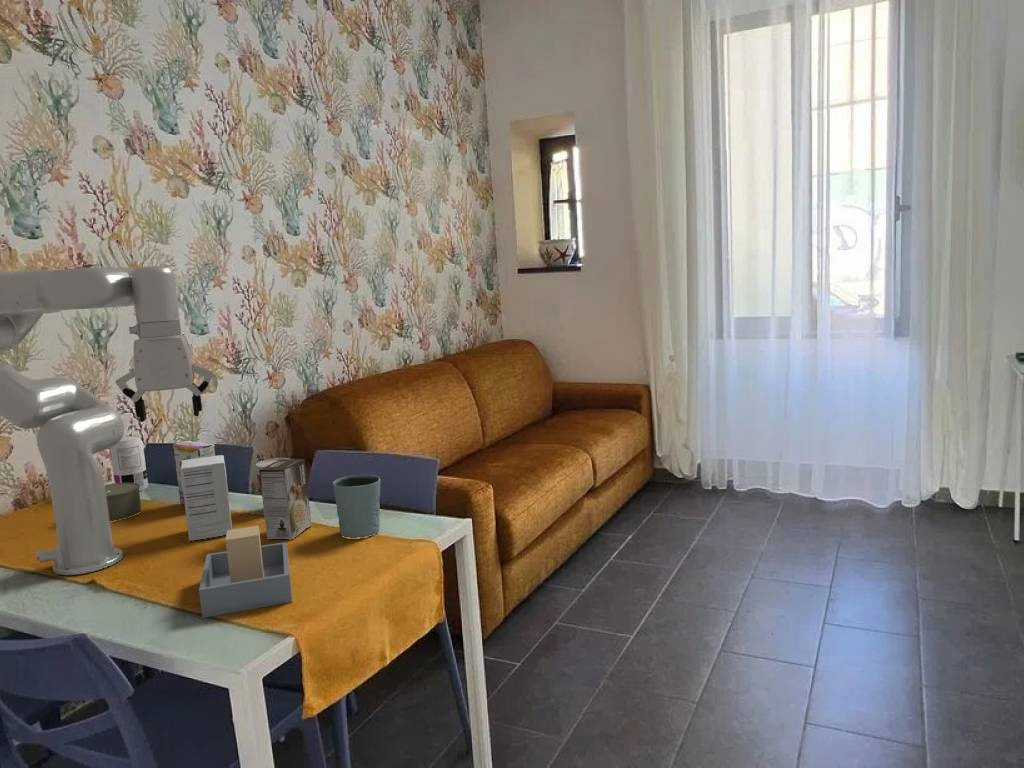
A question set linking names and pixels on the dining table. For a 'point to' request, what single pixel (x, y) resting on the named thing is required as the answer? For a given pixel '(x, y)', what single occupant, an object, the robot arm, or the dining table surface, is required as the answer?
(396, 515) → the dining table surface
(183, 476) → the supplement box
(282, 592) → the tote
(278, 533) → the coffee box
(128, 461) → the supplement can
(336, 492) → the teal cup
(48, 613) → the dining table surface
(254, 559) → the carton
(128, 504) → the can
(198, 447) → the candy bar box
